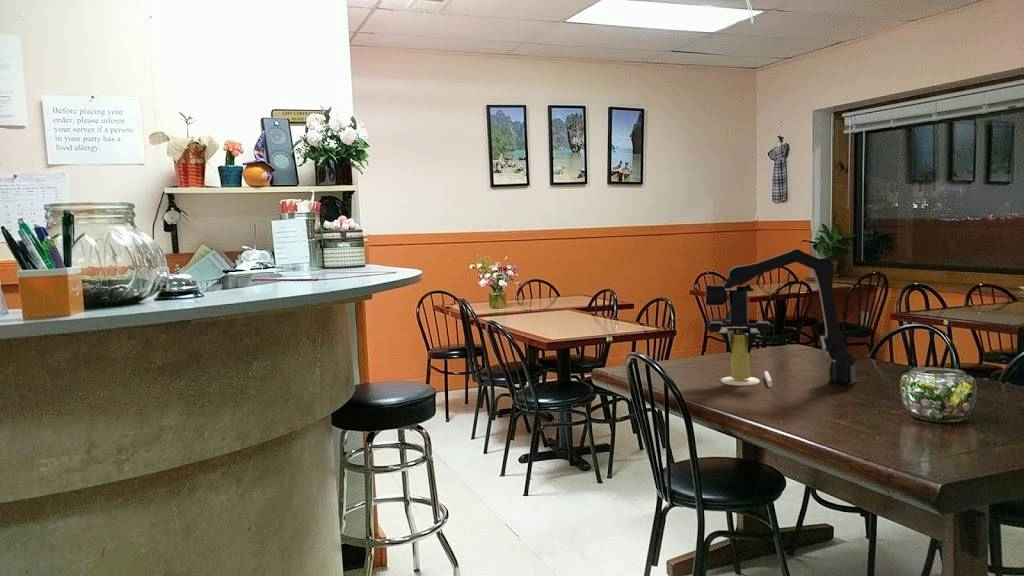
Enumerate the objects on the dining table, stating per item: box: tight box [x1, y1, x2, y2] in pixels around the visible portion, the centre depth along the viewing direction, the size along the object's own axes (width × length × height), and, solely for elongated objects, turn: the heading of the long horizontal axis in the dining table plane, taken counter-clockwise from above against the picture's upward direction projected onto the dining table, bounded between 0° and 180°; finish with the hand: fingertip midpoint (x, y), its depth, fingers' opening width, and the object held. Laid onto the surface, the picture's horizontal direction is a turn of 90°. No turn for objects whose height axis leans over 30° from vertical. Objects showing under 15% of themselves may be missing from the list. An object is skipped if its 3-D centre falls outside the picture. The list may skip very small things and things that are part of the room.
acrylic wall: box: [764, 370, 773, 388], centre depth 223 cm, size 14×1×2 cm, turn 165°
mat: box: [720, 375, 760, 387], centre depth 226 cm, size 12×12×1 cm
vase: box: [730, 332, 751, 379], centre depth 225 cm, size 6×6×14 cm
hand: (739, 353), depth 225 cm, fingers closed on vase, 5 cm apart
